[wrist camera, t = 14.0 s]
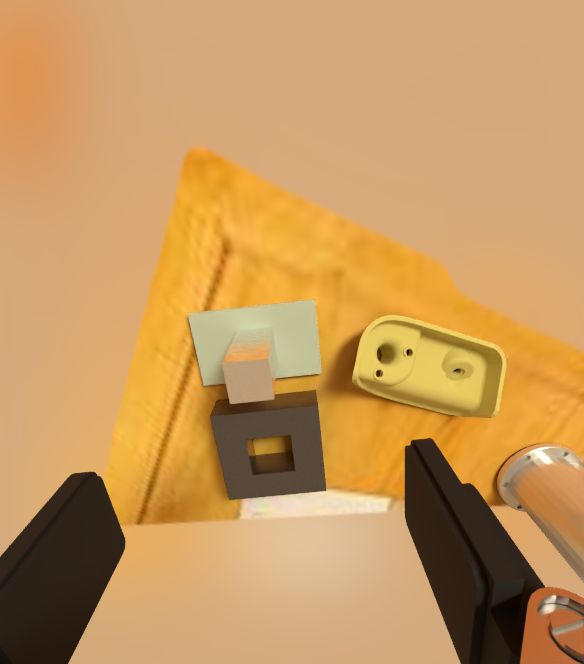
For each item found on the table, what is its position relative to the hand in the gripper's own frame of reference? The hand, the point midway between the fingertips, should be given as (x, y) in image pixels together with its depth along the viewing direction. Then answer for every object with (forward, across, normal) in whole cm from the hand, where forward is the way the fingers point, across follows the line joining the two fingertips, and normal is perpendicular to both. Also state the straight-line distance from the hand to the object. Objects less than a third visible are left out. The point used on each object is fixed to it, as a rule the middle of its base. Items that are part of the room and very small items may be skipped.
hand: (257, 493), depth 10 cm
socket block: (+32, +4, +22) cm, 39 cm away
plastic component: (+33, -17, +12) cm, 39 cm away
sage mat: (+32, +4, +7) cm, 33 cm away
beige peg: (+31, +4, +7) cm, 32 cm away
